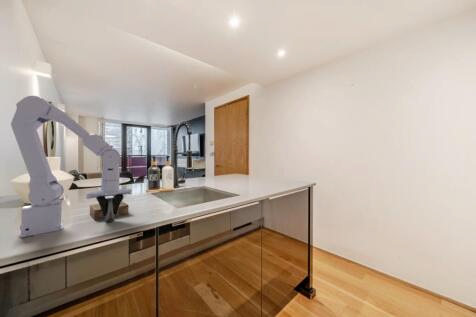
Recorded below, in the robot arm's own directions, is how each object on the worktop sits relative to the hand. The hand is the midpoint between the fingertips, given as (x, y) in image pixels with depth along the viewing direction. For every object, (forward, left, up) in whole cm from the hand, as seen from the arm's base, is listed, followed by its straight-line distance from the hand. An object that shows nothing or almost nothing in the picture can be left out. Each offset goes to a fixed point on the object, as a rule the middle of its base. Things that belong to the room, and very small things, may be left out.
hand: (109, 214), depth 72 cm
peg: (0, 0, -3) cm, 3 cm away
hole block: (+2, +10, -3) cm, 11 cm away
